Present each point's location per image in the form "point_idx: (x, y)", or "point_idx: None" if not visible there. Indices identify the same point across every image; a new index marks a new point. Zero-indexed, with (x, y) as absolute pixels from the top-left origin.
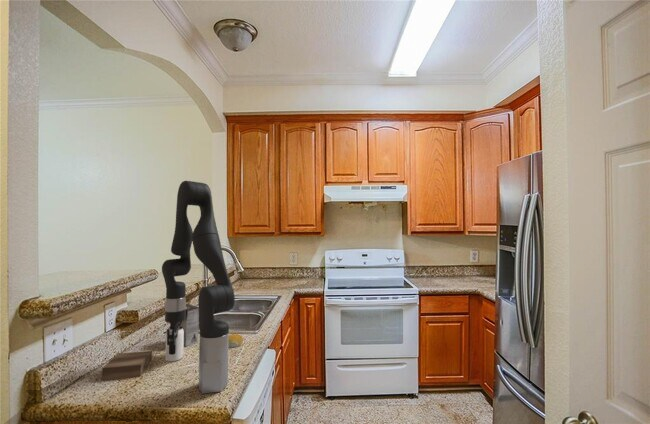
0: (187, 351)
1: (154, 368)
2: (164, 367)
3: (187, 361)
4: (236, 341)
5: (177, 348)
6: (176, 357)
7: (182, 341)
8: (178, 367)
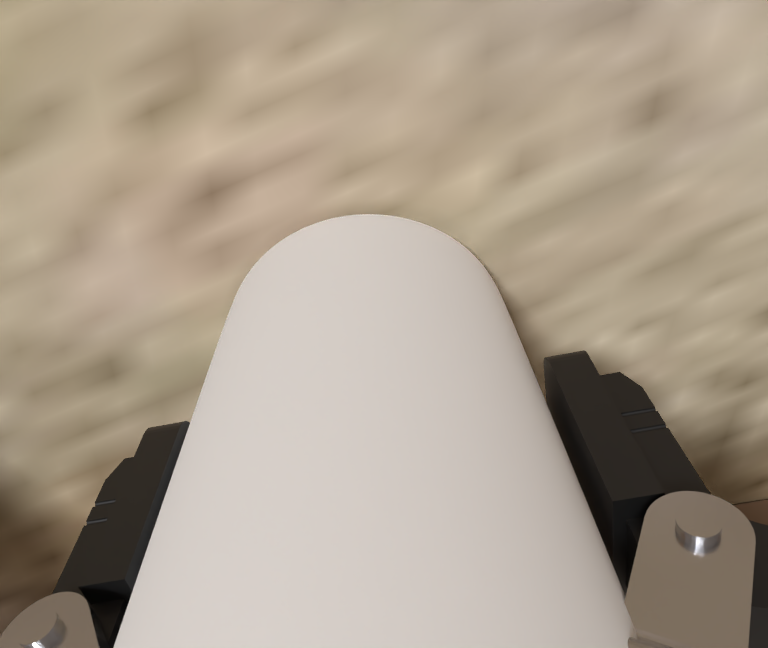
0: (49, 248)
1: (678, 439)
2: (680, 336)
3: (504, 49)
4: None
5: (529, 382)
6: (497, 290)
7: (410, 412)
8: (746, 116)
